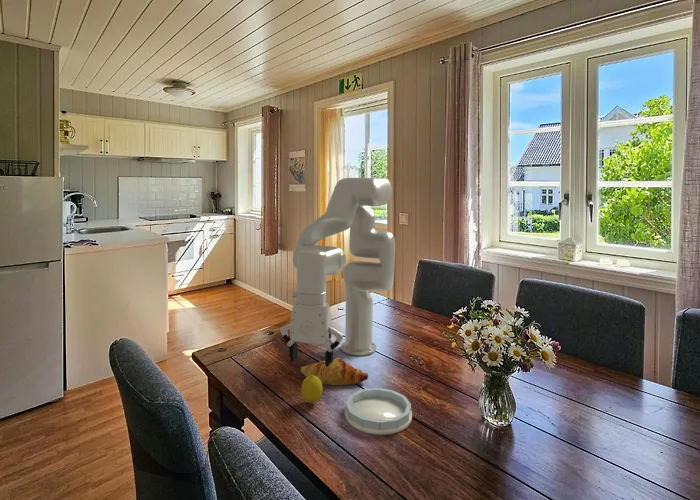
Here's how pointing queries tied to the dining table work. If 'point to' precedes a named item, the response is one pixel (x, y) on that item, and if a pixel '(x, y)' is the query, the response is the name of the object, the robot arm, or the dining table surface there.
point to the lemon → (311, 389)
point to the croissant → (335, 372)
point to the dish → (378, 411)
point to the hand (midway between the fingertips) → (311, 362)
